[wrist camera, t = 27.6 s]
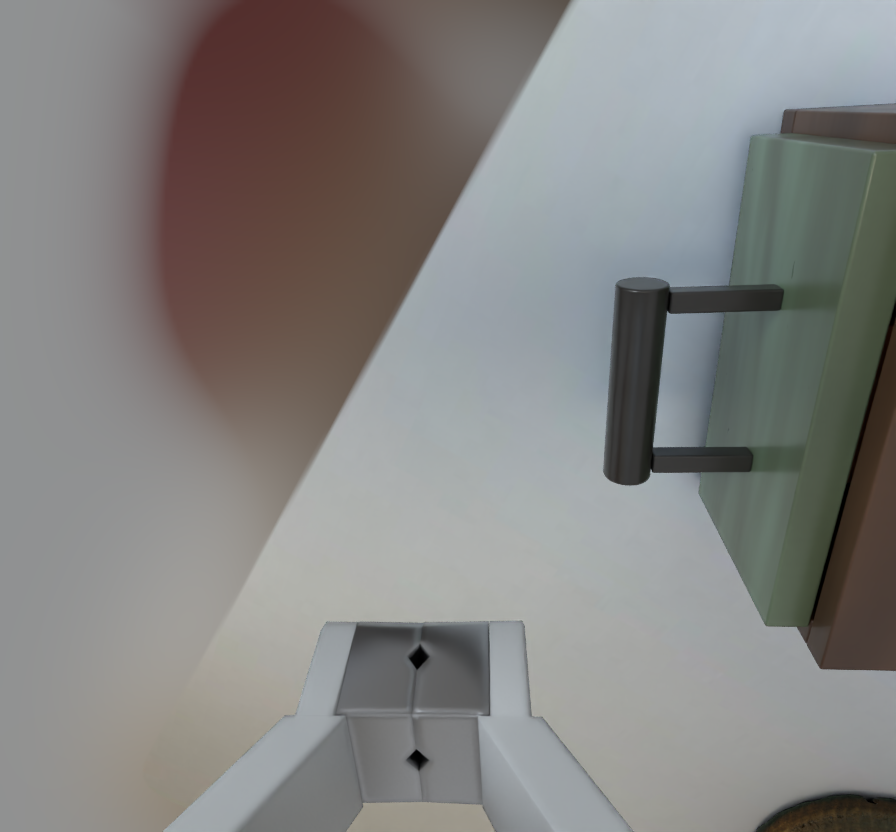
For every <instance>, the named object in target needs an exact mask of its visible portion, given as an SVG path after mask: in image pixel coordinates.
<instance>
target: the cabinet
mask: <svg viewBox="0 0 896 832" xmlns="http://www.w3.org/2000/svg"><path fill="white" fill-rule="evenodd" d="M781 133H796V134H805V135H815V136H824V137H834V138H843V139H853V140H862V141H872V142H881V143H890V144H896V104H878V105H860V106H842V107H824V108H806V109H788V110H785V111H784V115H783V121H782V127H781ZM781 133H780V134H781ZM797 628H798V630H799V632H800V634H801V635H802V637H803V639H804V641H805V642H806V643H807V646H808V648H809V650H810V652H811V653H812V655H813V657H814V659H815V660H816V662H817V664H818V666H819V668H820V669H838V670H885V671H896V319H895V323H894V327H893V330H892V334H891V338H890V341H889V345H888V349H887V352H886V356H885V360H884V363H883V367H882V371H881V374H880V378H879V382H878V385H877V389H876V393H875V396H874V400H873V404H872V407H871V411H870V415H869V418H868V422H867V426H866V429H865V433H864V437H863V440H862V444H861V448H860V451H859V455H858V459H857V462H856V466H855V470H854V473H853V477H852V481H851V484H850V488H849V492H848V496H847V499H846V503H845V507H844V510H843V514H842V518H841V521H840V525H839V529H838V532H837V536H836V540H835V543H834V547H833V551H832V554H830V552H829V551H828V555H827V558H826V562H825V566H824V569H823V573H822V577H821V581H820V584H819V588H818V592H817V596H816V599H815V603H814V607H813V610H812V614H811V618H810V622H809V625H808V626H807V627H797Z"/></svg>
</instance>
